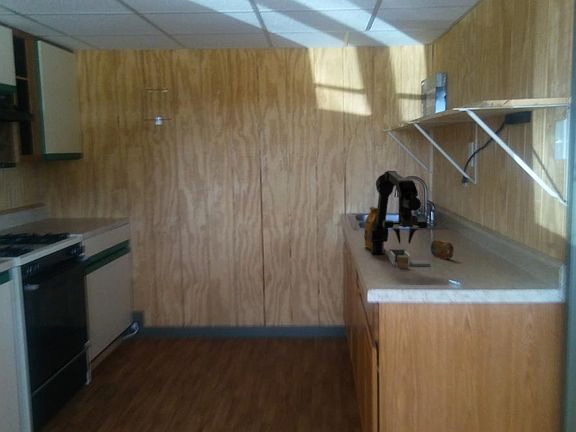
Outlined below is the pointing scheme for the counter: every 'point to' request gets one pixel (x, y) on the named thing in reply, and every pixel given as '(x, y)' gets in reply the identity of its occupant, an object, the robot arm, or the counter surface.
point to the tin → (442, 249)
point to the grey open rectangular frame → (397, 252)
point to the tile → (419, 263)
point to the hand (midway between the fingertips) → (404, 243)
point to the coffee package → (370, 226)
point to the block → (402, 261)
